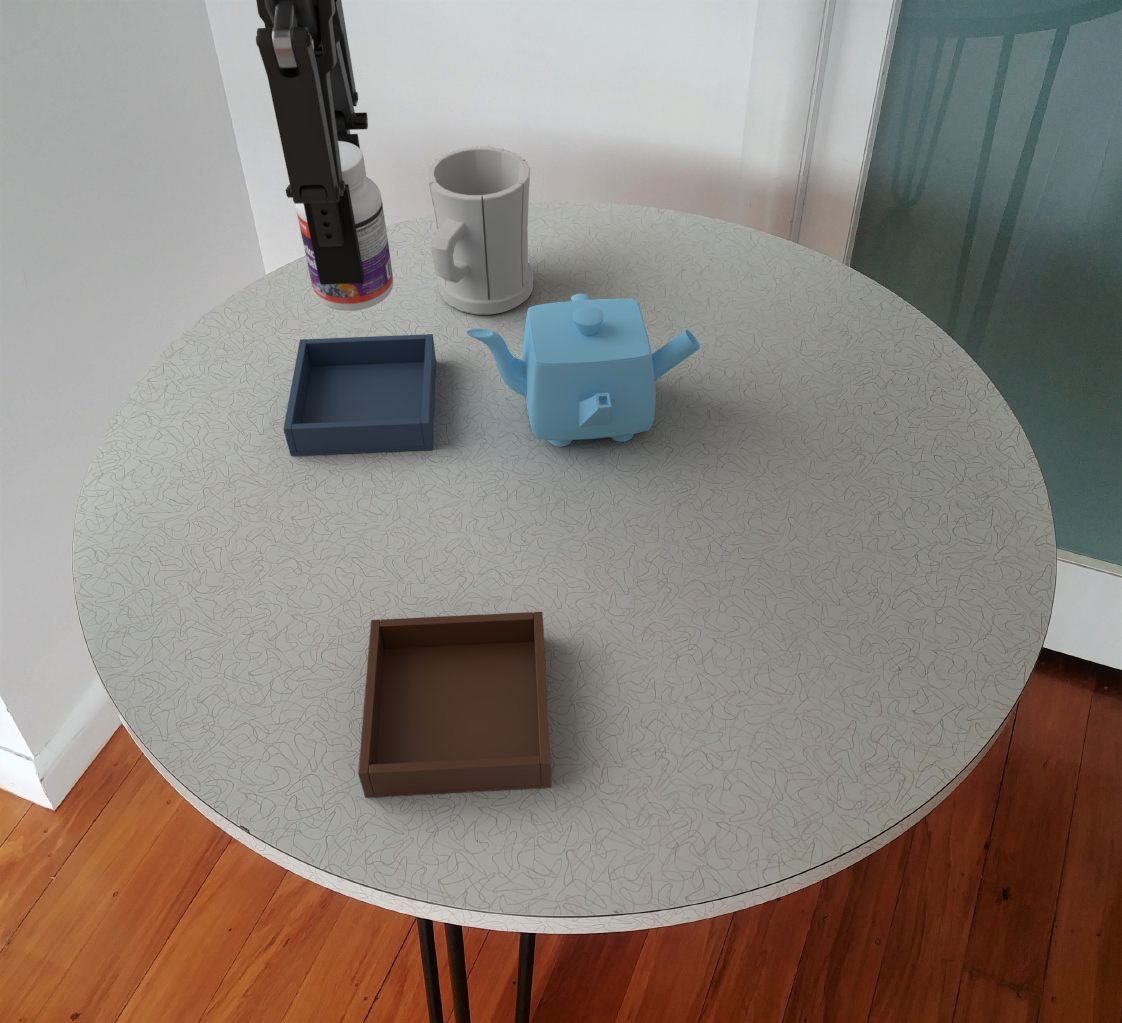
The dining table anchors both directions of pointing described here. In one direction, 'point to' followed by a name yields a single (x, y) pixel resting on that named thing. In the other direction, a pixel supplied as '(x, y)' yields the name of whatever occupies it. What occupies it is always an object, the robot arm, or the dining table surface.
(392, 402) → the far bin
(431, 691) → the near bin
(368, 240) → the pill bottle
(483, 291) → the cup
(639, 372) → the teapot
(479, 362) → the dining table surface
